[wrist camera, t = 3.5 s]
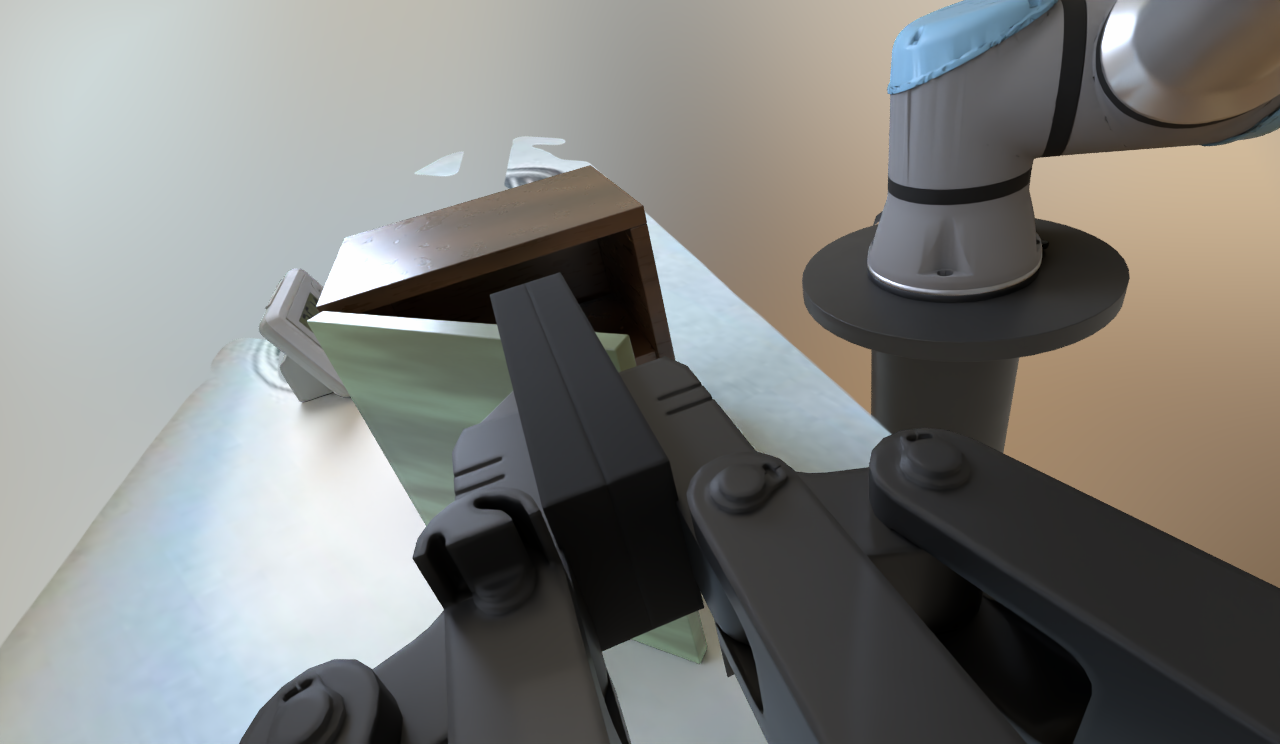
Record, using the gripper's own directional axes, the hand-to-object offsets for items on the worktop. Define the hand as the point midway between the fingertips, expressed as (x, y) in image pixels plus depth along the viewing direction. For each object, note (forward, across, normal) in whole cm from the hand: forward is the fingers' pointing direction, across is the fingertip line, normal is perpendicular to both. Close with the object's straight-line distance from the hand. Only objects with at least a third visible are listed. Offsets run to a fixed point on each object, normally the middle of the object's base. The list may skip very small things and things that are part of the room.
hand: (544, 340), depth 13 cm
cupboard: (+25, -1, -23) cm, 33 cm away
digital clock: (+54, -21, -23) cm, 62 cm away
